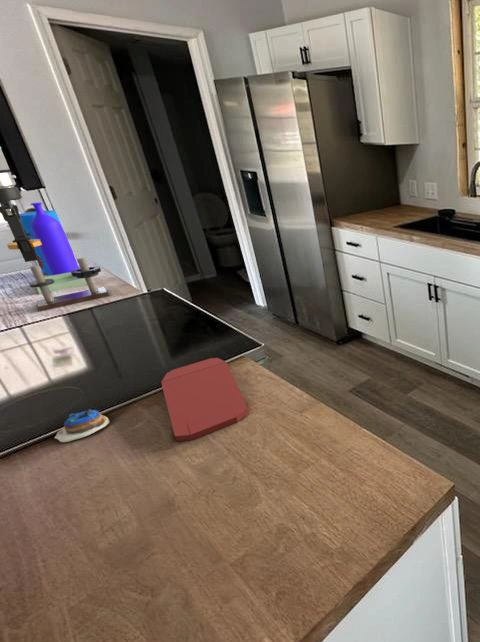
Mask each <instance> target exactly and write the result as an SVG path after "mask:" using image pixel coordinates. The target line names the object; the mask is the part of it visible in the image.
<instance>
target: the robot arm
mask: <svg viewBox="0 0 480 642" xmlns="http://www.w3.org/2000/svg"><path fill="white" fill-rule="evenodd" d="M15 179H17V176H16V175H15V174H12V172H11V170H10V167H9V165H8V162H7V159H6V157H5V155H4V153H3V150H2V147H1V146H0V214H1V215H2V218H3V220H4V221H5V222H7V225H8V227H9V229H10V231H11V234H12V235H13V239H14V240H12V242H13V243H17V245H18V247H19V249H18V250H19V251H20V253H21V256H22V258H23V260H24V262H25V263H28V262H33V261H34V262H36V261H37V260H38V259H37V257H36V253H35V250H34V248H33V247H32V246H31V244H30V241H29V240H30V239H29V237H28V236H30V233H26V231H25V229H24V227H23V225H22V222H21V216H20V214H21V213H20V209H19V207H18V205H17V204H14V203H13V202H12V201H18V200H21V199H22V198H23V196H22V194H21V192H20V190H19V188H18V187H17V186H16V185H17V182H16V181H15Z"/></svg>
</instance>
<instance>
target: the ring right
mask: <svg viewBox="0 0 480 642" xmlns="http://www.w3.org/2000/svg"><path fill="white" fill-rule="evenodd" d="M88 267H89V269H90V270H87V271H82V270H81V268H80V267H79V269H75V270H73V271H71V274H72V276H73V277H80V276H87V275H92V274H96V273H101V272H102V269H101V267H100V266H99V265H92V266H90V265H89V266H88Z"/></svg>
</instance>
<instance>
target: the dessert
mask: <svg viewBox="0 0 480 642" xmlns="http://www.w3.org/2000/svg"><path fill="white" fill-rule="evenodd" d="M108 424H110V420H109V417H107V416H106V415H103V414H101V412H100V411H99V410H96V409H90V408H88V409H87V410H84V411H81V412H78V413H77V412H76V413H70V414H69V416H68V418H67V419H66V420H64V422H63V428H62V429H60V430H58V432H57V433H56V435H55V436H54V439H56V440H58V441H59V442H60V443H68V442H72V441H75V440H79V439H82V438H85V437H87V436H88V437H89V436H90V435H91V434H94V433H95V432H98V431H100V430H101V429H104V428H105V427H106V426H107V425H108Z"/></svg>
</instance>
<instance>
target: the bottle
mask: <svg viewBox="0 0 480 642" xmlns="http://www.w3.org/2000/svg"><path fill="white" fill-rule="evenodd" d="M30 205H31V206H33V208H34V210H35V211H34V212H36V216H35V217H34V218H33V220H32V222H31V224H30V225H31V229H32V231H33V234H34V236H35V239H40V241H41V243H42V245H40V246H39V248H40V250H41V253H42V255H43V257H44V259H45V262H46V264H47V266H48V268H49V270H50V272H51V274H52V275H58V274H63V273H69V272H71V271H73V270H75V269H79V268H80V266H79V263H78V261H77V258H76V257H74V256H75V254H74V252H73V249H72V247H71V245H69V244H70V242H69V239H68V237H67V235H66V233H65V231H63V230H64V228H63V226H62V227H61V225H62V224H61V225H60V223H61V222H60V223H59V221H60V220H59V221H58V220H56V219H55V218H53V217H51V216H49V215H47V214H46V213H45V212H44V211H45V210H44V209H43V207H42V205H43V202H40V201H39V202H32V203H30ZM62 228H63V229H62ZM66 237H67V238H66ZM52 275H51V276H52Z"/></svg>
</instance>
